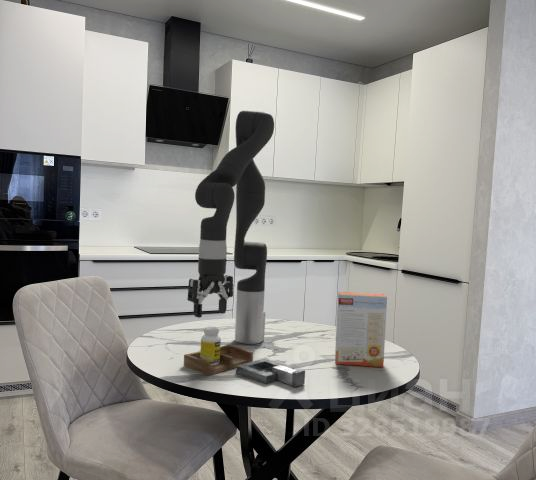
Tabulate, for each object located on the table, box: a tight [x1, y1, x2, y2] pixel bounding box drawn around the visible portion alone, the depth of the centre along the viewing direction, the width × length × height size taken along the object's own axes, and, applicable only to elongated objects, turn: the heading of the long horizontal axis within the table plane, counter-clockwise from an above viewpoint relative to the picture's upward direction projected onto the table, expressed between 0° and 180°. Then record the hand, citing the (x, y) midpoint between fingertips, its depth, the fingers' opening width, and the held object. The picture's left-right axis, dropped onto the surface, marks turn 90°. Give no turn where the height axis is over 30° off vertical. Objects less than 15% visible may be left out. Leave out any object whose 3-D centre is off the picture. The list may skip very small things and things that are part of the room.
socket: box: [235, 358, 295, 385], centre depth 135 cm, size 11×11×2 cm
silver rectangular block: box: [271, 365, 306, 388], centre depth 130 cm, size 4×8×4 cm, turn 48°
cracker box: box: [334, 291, 388, 368], centre depth 149 cm, size 14×6×21 cm, turn 84°
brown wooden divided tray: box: [183, 344, 254, 376], centre depth 142 cm, size 17×10×3 cm, turn 137°
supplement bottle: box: [199, 326, 222, 366], centre depth 138 cm, size 5×5×10 cm
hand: (210, 314), depth 138 cm, fingers open, 8 cm apart
